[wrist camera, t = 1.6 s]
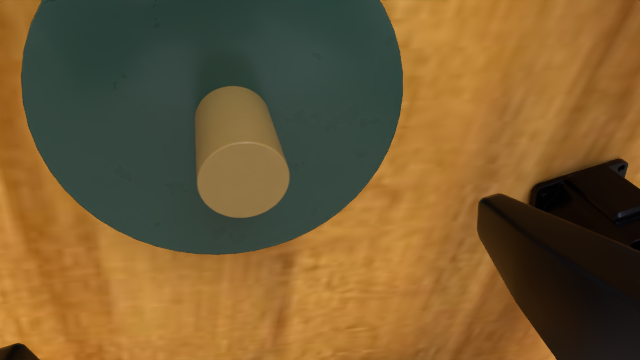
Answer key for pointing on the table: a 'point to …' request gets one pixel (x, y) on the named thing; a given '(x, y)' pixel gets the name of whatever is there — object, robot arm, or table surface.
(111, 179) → the tin lid
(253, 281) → the table surface
